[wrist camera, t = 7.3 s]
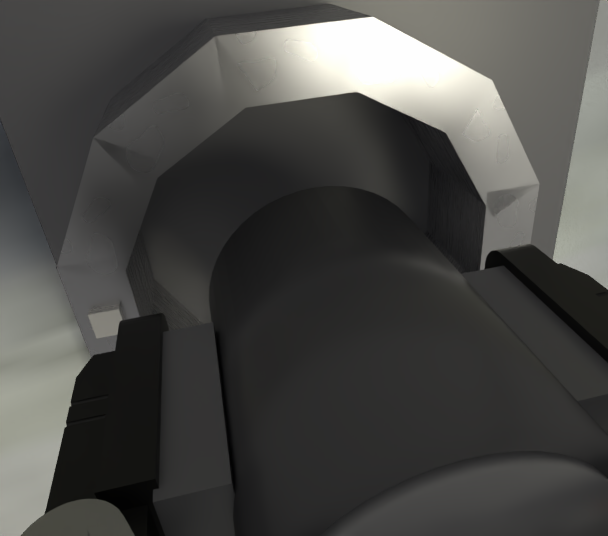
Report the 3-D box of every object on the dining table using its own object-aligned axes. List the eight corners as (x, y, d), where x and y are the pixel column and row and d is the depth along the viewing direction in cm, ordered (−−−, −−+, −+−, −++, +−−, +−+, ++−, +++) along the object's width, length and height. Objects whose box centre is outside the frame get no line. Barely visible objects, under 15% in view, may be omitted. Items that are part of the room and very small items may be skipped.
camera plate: (627, -453, 10) (760, -573, 8) (508, 355, 20) (550, 405, 18) (-184, -452, 8) (-321, -611, 6) (138, 436, 19) (134, 503, 16)
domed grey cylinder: (470, 161, 10) (788, 377, 5) (455, 347, 13) (658, 625, 7) (142, 215, 9) (104, 546, 4) (192, 404, 12) (210, 765, 6)
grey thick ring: (485, -16, 12) (576, -7, 9) (457, 332, 17) (510, 402, 15) (24, 39, 11) (-27, 67, 8) (144, 398, 16) (139, 488, 13)
